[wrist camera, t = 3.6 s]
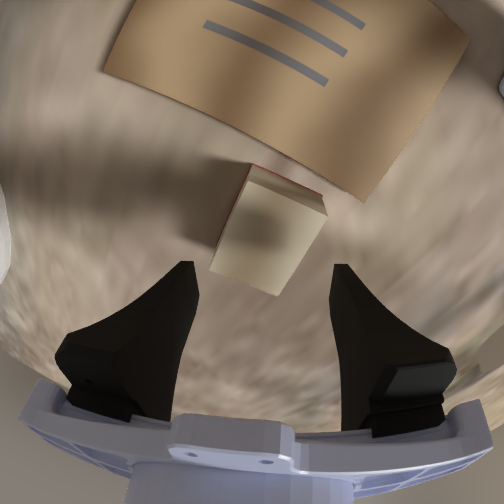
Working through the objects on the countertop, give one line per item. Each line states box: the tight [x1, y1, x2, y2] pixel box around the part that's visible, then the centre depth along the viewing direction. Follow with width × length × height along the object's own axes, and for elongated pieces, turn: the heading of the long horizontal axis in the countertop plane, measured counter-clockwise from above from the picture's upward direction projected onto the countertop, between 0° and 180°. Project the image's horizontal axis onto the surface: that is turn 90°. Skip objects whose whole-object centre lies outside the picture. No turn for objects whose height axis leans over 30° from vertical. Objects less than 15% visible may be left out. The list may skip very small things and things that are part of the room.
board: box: [103, 0, 471, 203], centre depth 12 cm, size 17×13×1 cm
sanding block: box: [209, 163, 328, 296], centre depth 17 cm, size 5×6×3 cm
